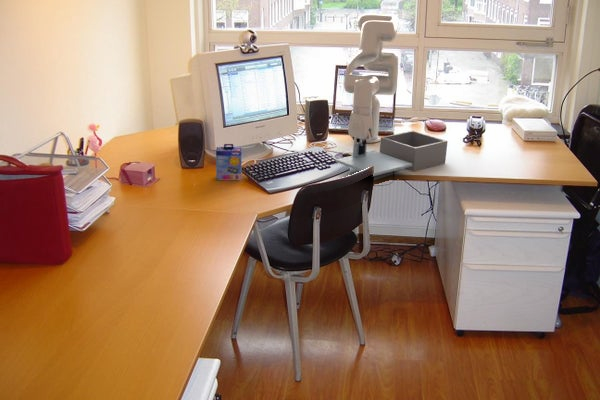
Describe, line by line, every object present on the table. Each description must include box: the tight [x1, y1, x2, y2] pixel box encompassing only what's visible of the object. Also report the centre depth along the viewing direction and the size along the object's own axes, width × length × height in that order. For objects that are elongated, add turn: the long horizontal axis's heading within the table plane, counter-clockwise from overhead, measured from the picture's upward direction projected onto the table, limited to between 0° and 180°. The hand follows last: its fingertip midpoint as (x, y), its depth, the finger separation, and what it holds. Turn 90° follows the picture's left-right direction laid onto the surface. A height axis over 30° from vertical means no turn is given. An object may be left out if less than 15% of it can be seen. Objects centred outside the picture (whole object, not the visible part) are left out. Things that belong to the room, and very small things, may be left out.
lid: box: [335, 142, 412, 177], centre depth 270 cm, size 22×22×8 cm
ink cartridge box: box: [215, 143, 242, 181], centre depth 259 cm, size 10×6×14 cm, turn 95°
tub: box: [379, 130, 449, 173], centre depth 286 cm, size 20×20×10 cm
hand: (359, 153), depth 276 cm, fingers closed on lid, 1 cm apart
